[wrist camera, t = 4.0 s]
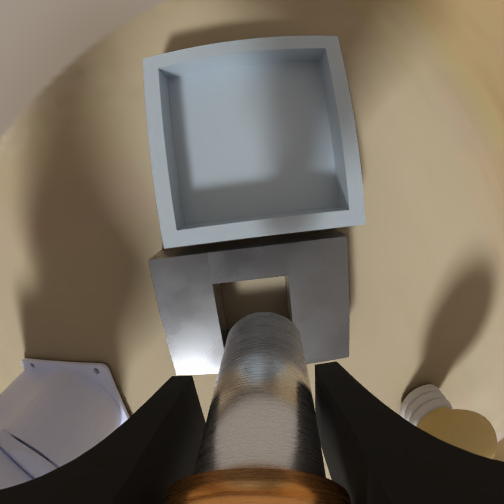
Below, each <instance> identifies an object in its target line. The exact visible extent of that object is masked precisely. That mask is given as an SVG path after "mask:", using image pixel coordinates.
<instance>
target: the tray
mask: <svg viewBox="0 0 504 504" xmlns="http://www.w3.org/2000/svg"><path fill="white" fill-rule="evenodd" d="M143 72H144V90H145V105H146V117H147V128H148V138H149V148H150V157H151V165H152V173H153V181H154V189H155V196H156V203H157V209H158V216H159V222H160V228H161V234H162V240H163V245H164V249H165V248H173V247H181V246H189V245H196V244H204V243H212V242H220V241H228V240H236V239H244V238H253V237H261V236H269V235H278V234H286V233H295V232H303V231H312V230H321V229H330V228H339V227H348V226H357V225H366V224H365V209H364V196H363V185H362V175H361V165H360V157H359V149H358V141H357V134H356V127H355V120H354V114H353V108H352V102H351V97H350V91H349V86H348V81H347V76H346V71H345V66H344V61H343V57H342V52H341V48H340V44H339V40H338V36H319V35H312V36H279V37H265V38H253V39H244V40H235V41H228V42H221V43H214V44H208V45H202V46H197V47H192V48H187V49H182V50H177V51H173V52H168V53H164V54H160V55H156V56H152V57H148V58H145V59H143Z"/></svg>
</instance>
